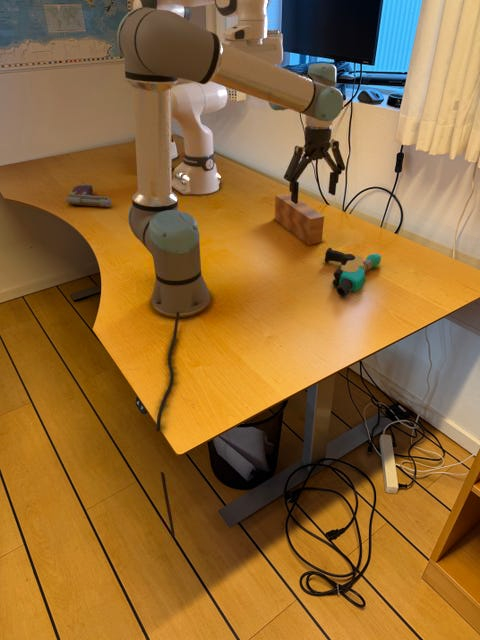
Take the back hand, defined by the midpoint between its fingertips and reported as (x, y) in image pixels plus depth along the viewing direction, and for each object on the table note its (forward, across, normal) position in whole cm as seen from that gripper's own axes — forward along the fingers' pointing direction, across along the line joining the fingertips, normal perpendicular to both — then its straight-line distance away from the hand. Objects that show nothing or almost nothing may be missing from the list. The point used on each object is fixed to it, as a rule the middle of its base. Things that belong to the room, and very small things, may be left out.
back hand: (252, 82), depth 151 cm
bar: (+42, -5, +24) cm, 49 cm away
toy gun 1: (+42, +51, -34) cm, 75 cm away
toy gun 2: (+42, -1, +56) cm, 70 cm away
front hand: (+28, -6, +31) cm, 42 cm away
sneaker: (+42, +15, -65) cm, 79 cm away
